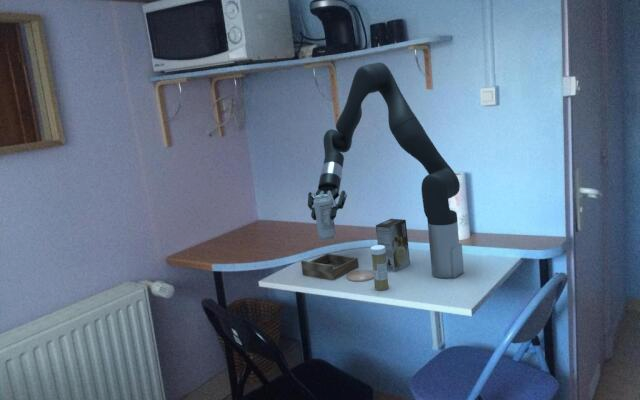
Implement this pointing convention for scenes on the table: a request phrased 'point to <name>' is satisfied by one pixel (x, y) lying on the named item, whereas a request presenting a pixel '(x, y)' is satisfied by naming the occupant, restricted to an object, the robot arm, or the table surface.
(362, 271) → the terracotta saucer
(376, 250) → the sprinkles bottle
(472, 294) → the table surface
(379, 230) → the coffee box
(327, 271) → the brown square open frame
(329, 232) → the energy drink can
